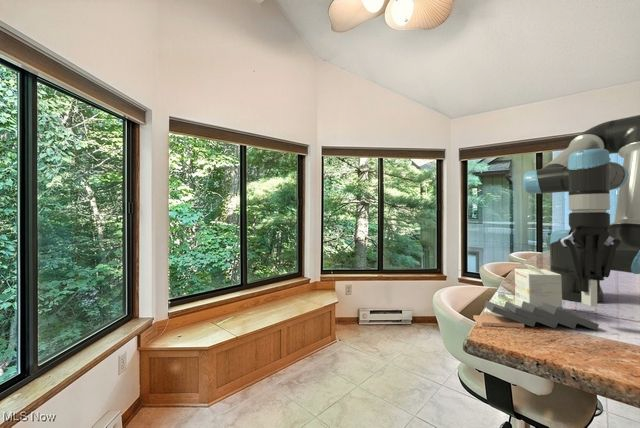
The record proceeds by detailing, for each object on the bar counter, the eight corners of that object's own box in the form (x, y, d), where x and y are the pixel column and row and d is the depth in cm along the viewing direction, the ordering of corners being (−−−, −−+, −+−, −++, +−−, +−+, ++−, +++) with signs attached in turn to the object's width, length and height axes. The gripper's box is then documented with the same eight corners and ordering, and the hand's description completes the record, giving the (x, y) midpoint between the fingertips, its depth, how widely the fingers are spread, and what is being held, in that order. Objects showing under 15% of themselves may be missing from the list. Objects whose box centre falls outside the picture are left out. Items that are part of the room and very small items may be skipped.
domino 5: (582, 316, 72) (543, 302, 73) (599, 324, 67) (556, 308, 68) (579, 322, 72) (540, 307, 73) (596, 330, 67) (554, 314, 69)
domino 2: (525, 314, 74) (486, 300, 76) (535, 321, 69) (494, 306, 71) (523, 320, 74) (484, 306, 76) (533, 327, 69) (491, 312, 71)
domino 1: (513, 316, 74) (473, 315, 76) (524, 324, 69) (481, 322, 71) (513, 322, 74) (473, 321, 76) (524, 330, 69) (481, 328, 71)
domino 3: (544, 315, 74) (506, 301, 75) (558, 322, 69) (516, 307, 70) (542, 321, 74) (504, 306, 75) (555, 328, 69) (514, 313, 70)
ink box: (563, 317, 76) (563, 268, 76) (529, 315, 78) (528, 267, 78) (545, 306, 85) (544, 263, 85) (514, 305, 86) (513, 262, 86)
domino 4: (562, 315, 73) (523, 300, 74) (577, 323, 68) (534, 307, 69) (560, 321, 73) (521, 306, 74) (574, 329, 68) (532, 312, 69)
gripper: (603, 211, 73) (603, 300, 73) (550, 211, 75) (550, 299, 74) (632, 211, 66) (632, 310, 66) (572, 211, 67) (573, 309, 67)
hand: (589, 304), depth 70 cm, fingers closed
